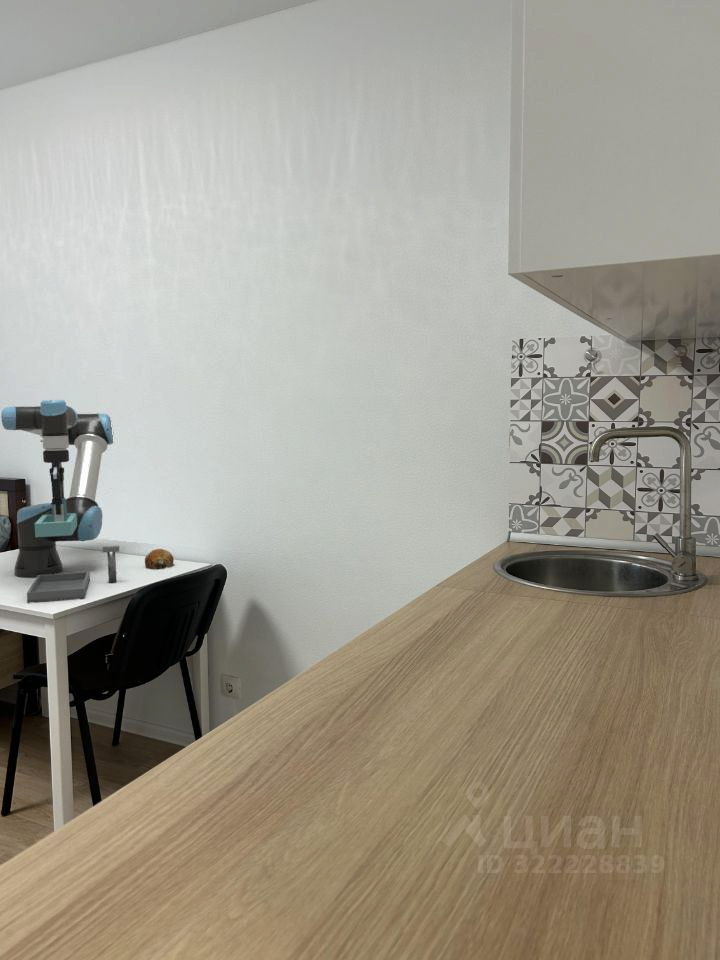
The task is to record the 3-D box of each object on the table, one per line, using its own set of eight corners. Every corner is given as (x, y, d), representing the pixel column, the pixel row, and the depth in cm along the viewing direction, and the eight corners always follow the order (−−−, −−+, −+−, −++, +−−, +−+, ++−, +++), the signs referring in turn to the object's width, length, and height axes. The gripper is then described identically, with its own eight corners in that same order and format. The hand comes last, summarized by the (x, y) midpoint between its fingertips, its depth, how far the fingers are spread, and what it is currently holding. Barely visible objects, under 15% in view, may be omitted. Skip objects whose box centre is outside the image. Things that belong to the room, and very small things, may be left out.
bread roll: (176, 574, 274) (178, 552, 277) (166, 568, 264) (169, 545, 267) (149, 574, 275) (152, 552, 278) (139, 567, 265) (141, 545, 268)
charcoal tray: (38, 584, 246) (38, 575, 246) (90, 580, 250) (89, 571, 250) (27, 603, 224) (26, 592, 223) (84, 598, 228) (83, 588, 228)
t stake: (104, 581, 249) (102, 546, 247) (120, 580, 250) (119, 545, 249) (104, 583, 246) (102, 548, 245) (120, 582, 248) (119, 547, 246)
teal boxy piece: (43, 527, 242) (41, 499, 241) (77, 525, 245) (75, 497, 244) (35, 537, 225) (33, 506, 224) (71, 535, 228) (70, 505, 227)
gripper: (45, 448, 246) (50, 521, 249) (39, 451, 232) (44, 528, 235) (70, 447, 248) (74, 520, 251) (66, 450, 234) (70, 527, 237)
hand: (59, 524), depth 243 cm, fingers closed on teal boxy piece, 1 cm apart
